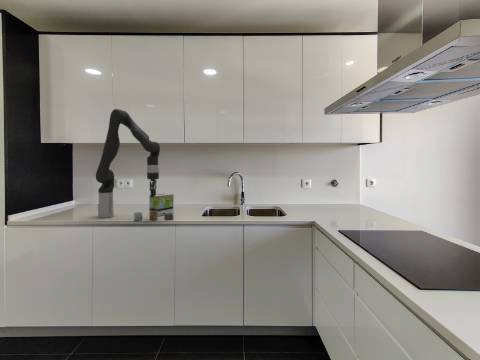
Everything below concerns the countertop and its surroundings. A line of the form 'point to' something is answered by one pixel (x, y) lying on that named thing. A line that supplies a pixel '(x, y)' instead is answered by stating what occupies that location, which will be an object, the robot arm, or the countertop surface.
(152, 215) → the walnut block
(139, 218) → the grey egg shape
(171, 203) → the tea box
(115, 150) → the robot arm
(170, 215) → the charcoal block
